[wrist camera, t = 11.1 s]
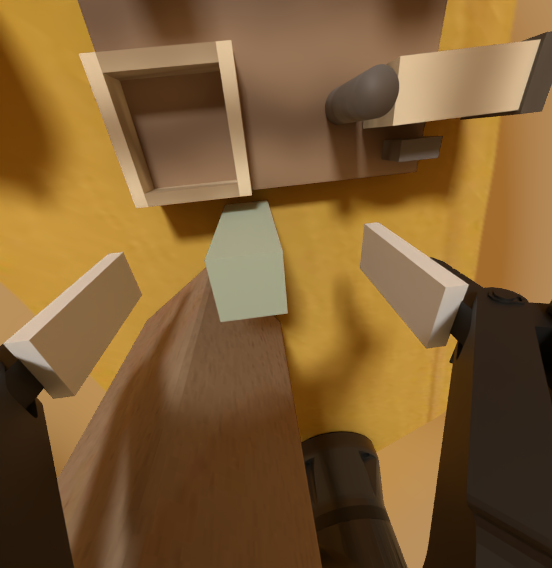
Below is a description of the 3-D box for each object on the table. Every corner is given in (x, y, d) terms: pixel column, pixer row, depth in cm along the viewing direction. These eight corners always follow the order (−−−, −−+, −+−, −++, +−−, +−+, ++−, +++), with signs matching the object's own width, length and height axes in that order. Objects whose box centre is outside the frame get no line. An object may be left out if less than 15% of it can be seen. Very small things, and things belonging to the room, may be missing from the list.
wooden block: (281, 321, 27) (338, 634, 10) (218, 367, 30) (176, 678, 13) (212, 259, 23) (100, 627, 6) (145, 320, 26) (-71, 697, 8)
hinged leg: (361, 132, 17) (394, 130, 13) (365, 71, 15) (403, 49, 11) (476, 117, 17) (541, 111, 13) (492, 56, 15) (571, 29, 12)
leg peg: (271, 239, 22) (287, 313, 13) (232, 244, 22) (220, 322, 13) (267, 200, 21) (282, 251, 11) (225, 204, 20) (204, 260, 11)
